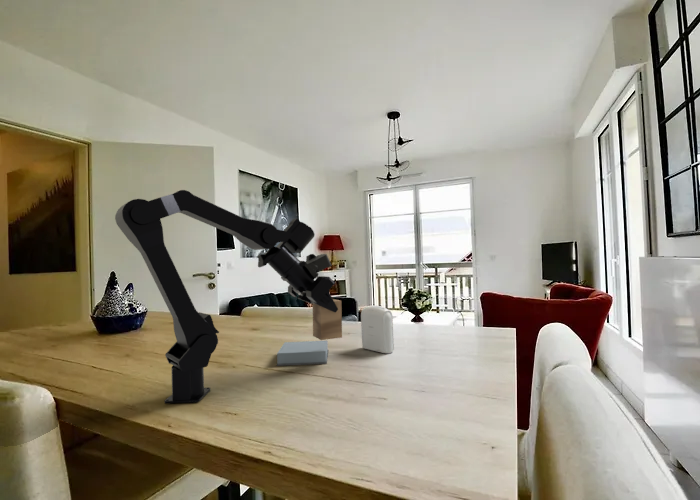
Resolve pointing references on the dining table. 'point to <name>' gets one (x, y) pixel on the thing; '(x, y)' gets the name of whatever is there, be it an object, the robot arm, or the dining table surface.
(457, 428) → the dining table surface
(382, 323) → the photo printer
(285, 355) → the plinth
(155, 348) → the dining table surface
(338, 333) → the walnut block
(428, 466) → the dining table surface
